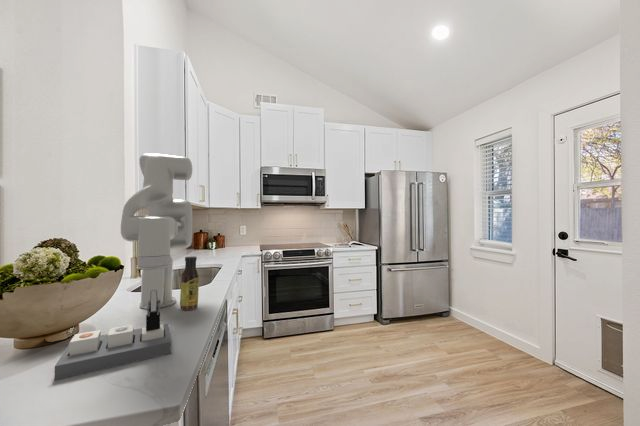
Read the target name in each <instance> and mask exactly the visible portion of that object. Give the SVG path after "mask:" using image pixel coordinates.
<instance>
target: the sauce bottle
mask: <svg viewBox="0 0 640 426" xmlns="http://www.w3.org/2000/svg"><path fill="white" fill-rule="evenodd" d="M197 258H198V257H197V256H185V257H184V261H185V267H184V268H185V269H184V270H183V272H182V274H181V276H180V277H181V279H180V280H181V281H180V297H179V305H180V311H185V312H187V311H192V310H193V311H194V310H195V309H197V308H198V304H199V288H200V287H199V285H200V284H199V283H200V277H199V273H198V271H197Z"/></svg>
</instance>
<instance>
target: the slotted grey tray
mask: <svg viewBox="0 0 640 426" xmlns="http://www.w3.org/2000/svg"><path fill="white" fill-rule="evenodd" d="M162 324H163V326H164V337H162V338H157V339H152V340H147V341H142V328H143V327H141V328H136V329H134V335H133V343H132V344H127V345H122V346H117V347H112V348H108V334H109V333H107V334H101V345H100V348H99V350H97V351H92V352H86V353H81V354H76V355H71V356H70V343H69V344H68V345H67V347H66V348H65V350H64V352H62V354H61V356H60V358H59V359H58V361H57V362H56V364H55V365H54V377H53V379H54V381H58V380H61V379H65V378H71V377H74V376H80V375H83V374H87V373H92V372H96V371H100V370H105V369H109V368H113V367H118V366H123V365H127V364H132V363H135V362H140V361H144V360H148V359H154V358H157V357H158V358H159V357H162V356H167V355H170V354H172V339H171V332H170V326H169V323H162Z"/></svg>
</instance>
